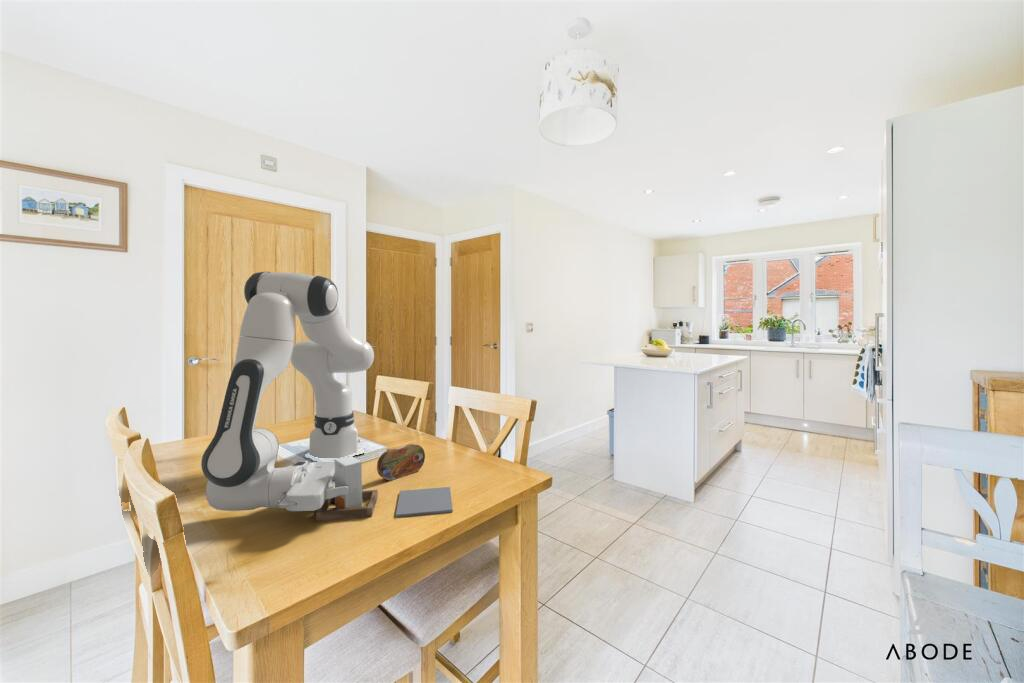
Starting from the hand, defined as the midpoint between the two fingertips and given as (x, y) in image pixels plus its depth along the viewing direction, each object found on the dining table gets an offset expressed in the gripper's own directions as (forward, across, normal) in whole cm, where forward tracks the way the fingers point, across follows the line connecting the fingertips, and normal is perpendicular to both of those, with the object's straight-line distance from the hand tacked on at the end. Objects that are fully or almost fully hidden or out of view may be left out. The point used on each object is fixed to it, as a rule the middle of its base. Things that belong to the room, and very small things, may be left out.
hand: (352, 481), depth 94 cm
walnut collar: (-1, 0, +6) cm, 7 cm away
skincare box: (-1, 0, +7) cm, 7 cm away
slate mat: (+17, 0, +6) cm, 18 cm away
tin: (+10, +19, +7) cm, 23 cm away
